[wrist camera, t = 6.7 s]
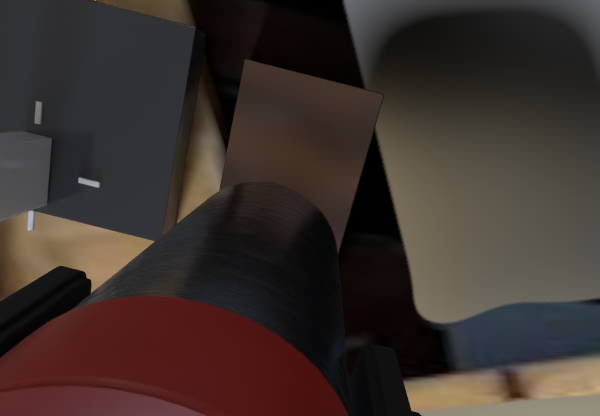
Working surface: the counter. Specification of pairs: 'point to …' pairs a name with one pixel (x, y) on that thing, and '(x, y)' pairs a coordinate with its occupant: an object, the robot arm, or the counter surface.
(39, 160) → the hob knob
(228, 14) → the counter surface
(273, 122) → the board
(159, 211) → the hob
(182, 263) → the jar with red lid
